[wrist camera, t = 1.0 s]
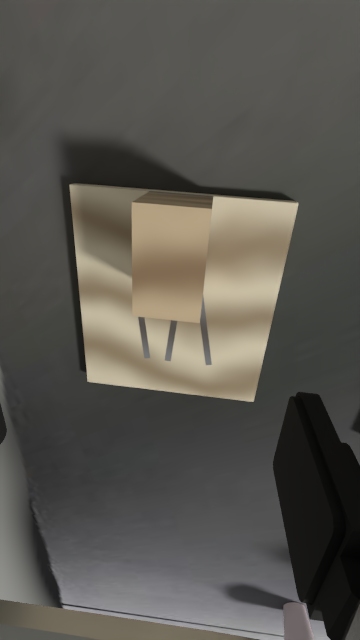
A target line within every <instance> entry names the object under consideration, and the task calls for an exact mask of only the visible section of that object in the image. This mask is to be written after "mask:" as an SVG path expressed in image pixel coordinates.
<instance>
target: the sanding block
mask: <svg viewBox="0 0 360 640" xmlns="http://www.w3.org/2000/svg"><path fill="white" fill-rule="evenodd" d="M212 205H213V196H205V195H193V194H181V193H168V192H156V191H149V192H147V193H146V194H144V195H142V196H141V197H139V198H138V199H136V200H134V201H133V202H132V316H137V317H146V318H156V319H165V320H174V321H184V322H193V323H200V317H201V308H202V299H203V290H204V280H205V271H206V261H207V252H208V243H209V233H210V224H211V214H212Z"/></svg>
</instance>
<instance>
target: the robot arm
mask: <svg viewBox="0 0 360 640" xmlns="http://www.w3.org/2000/svg"><path fill="white" fill-rule="evenodd" d="M6 431H7V429H6V425H5V421H4V416H3V412H2V408H1V405H0V444H1V443H2V441H3V440H4V438H5V436H6ZM273 470H274V475H275V481H276V486H277V491H278V496H279V501H280V506H281V511H282V517H283V522H284V527H285V532H286V537H287V542H288V547H289V553H290V558H291V563H292V568H293V573H294V578H295V583H296V589H297V593H298V597H299V600H300V601H301V602H303V603H306V604H307V609H308V613H309V618H310V619H312V620H319V621H324V625H325V629H326V633H327V636H328V637H329V638H330V639H331V640H360V465H359V463H358V461H357V459H356V457H355V455H354V453H353V451H352V449H351V448H350V446H349V445H348V444H347V443H341V442H340V440H339V437H338V435H337V433H336V431H335V428H334V426H333V424H332V422H331V420H330V417H329V415H328V413H327V411H326V409H325V406H324V404H323V402H322V400H321V398H320V396H319V395H318V394H313V393H303V392H298V393H297V394H296V397H293V396H291V397H290V399H289V402H288V406H287V410H286V414H285V417H284V421H283V425H282V429H281V433H280V437H279V440H278V444H277V448H276V452H275V456H274V461H273ZM0 640H259V639H253V638H247V637H241V636H236V635H230V634H224V633H218V632H212V631H206V630H200V629H193V628H187V627H180V626H174V625H167V624H160V623H154V622H147V621H141V620H134V619H128V618H121V617H114V616H108V615H101V614H95V613H88V612H81V611H74V610H67V609H61V608H53V607H47V606H40V605H33V604H27V603H20V602H12V601H6V600H0Z"/></svg>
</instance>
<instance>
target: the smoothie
mask: <svg viewBox="0 0 360 640" xmlns="http://www.w3.org/2000/svg"><path fill="white" fill-rule="evenodd" d="M283 615H284V639H285V640H314V636H313V633H312V630H311V626H310V623H309V619H308V616H307V612H306V609H305V606H304V605H303V604H300V603H296V602H289V603H286V604H284V606H283Z"/></svg>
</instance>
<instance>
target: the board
mask: <svg viewBox="0 0 360 640" xmlns="http://www.w3.org/2000/svg"><path fill="white" fill-rule="evenodd" d="M69 186H70V197H71V208H72V218H73V229H74V240H75V250H76V261H77V272H78V283H79V293H80V304H81V315H82V326H83V336H84V347H85V358H86V369H87V379H88V382H94V383H102V384H110V385H119V386H127V387H135V388H143V389H152V390H160V391H168V392H176V393H185V394H193V395H201V396H209V397H218V398H226V399H234V400H242V401H251V402H254V397H255V393H256V389H257V384H258V380H259V375H260V371H261V367H262V362H263V358H264V353H265V349H266V345H267V340H268V336H269V331H270V327H271V323H272V318H273V314H274V309H275V305H276V301H277V296H278V292H279V287H280V283H281V279H282V274H283V270H284V265H285V261H286V257H287V252H288V248H289V243H290V239H291V235H292V230H293V226H294V221H295V217H296V213H297V208H298V204H299V203H297V202H296V201H289V200H277V199H264V198H252V197H240V196H227V195H215V194H203V193H190V192H178V191H166V190H153V189H141V188H129V187H116V186H104V185H92V184H79V183H74V184H70V185H69ZM149 191H156V192H168V193H181V194H193V195H205V196H213V205H212V214H211V224H210V233H209V243H208V252H207V261H206V271H205V280H204V290H203V299H202V308H201V317H200V323H193V322H184V321H174V320H165V319H156V318H146V317H137V316H132V202H133V201H134V200H136V199H138V198H139V197H141V196H142V195H144V194H146V193H147V192H149Z"/></svg>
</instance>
